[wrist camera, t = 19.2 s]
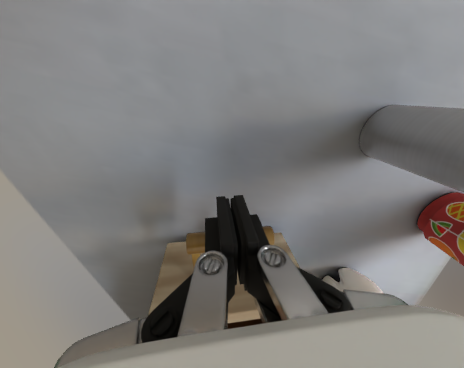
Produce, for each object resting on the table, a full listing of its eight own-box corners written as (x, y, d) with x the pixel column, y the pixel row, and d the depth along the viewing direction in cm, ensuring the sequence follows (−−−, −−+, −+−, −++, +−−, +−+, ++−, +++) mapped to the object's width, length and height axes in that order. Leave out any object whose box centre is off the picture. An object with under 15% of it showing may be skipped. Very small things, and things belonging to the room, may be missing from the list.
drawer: (158, 206, 15) (124, 284, 9) (287, 197, 16) (335, 259, 10) (184, 313, 22) (175, 393, 16) (269, 301, 24) (290, 371, 18)
